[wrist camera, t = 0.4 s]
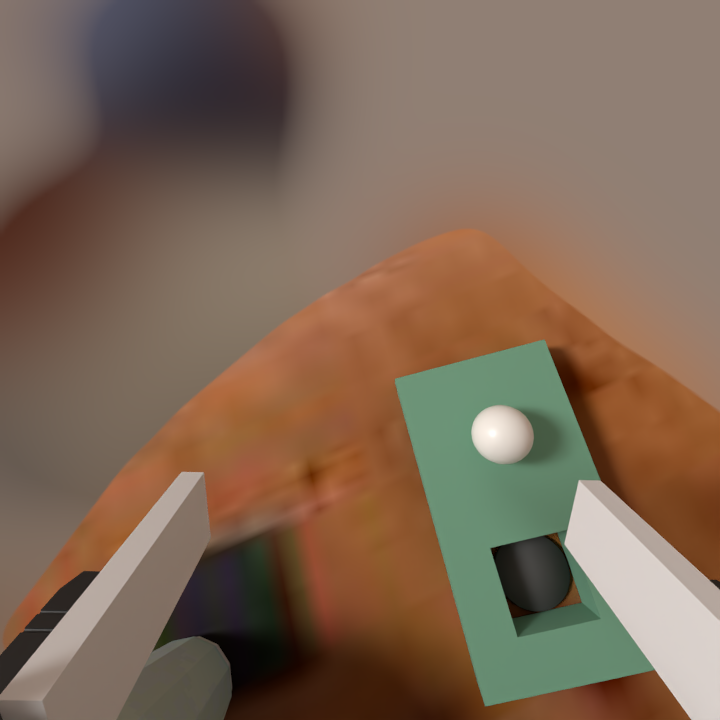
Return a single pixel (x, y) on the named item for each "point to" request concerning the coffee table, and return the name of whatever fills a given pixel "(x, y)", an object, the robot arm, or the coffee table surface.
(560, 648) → the putting mat
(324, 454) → the coffee table surface
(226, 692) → the disposable coffee cup
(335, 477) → the coffee table surface
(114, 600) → the robot arm
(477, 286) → the coffee table surface
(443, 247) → the coffee table surface
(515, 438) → the ball
